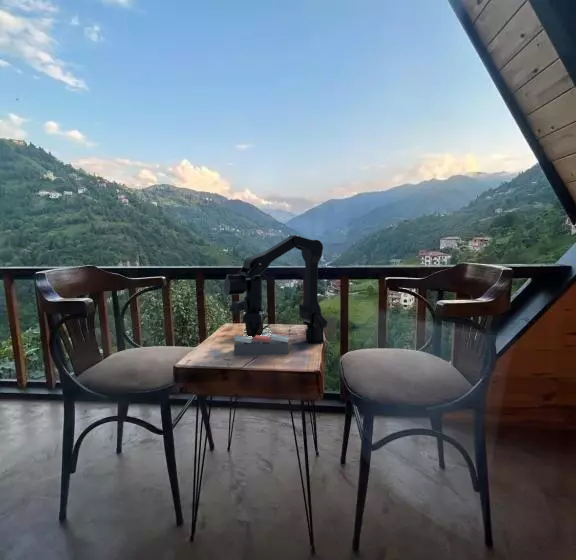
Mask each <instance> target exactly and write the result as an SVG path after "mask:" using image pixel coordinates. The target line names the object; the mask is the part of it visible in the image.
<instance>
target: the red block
mask: <svg viewBox="0 0 576 560" xmlns="http://www.w3.org/2000/svg"><path fill="white" fill-rule="evenodd" d="M270 337H271V336H269V335H262V336H260V335H256V336H253V340H255V341H263V342H270Z"/></svg>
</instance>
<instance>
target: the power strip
mask: <svg viewBox="0 0 576 560" xmlns="http://www.w3.org/2000/svg"><path fill="white" fill-rule="evenodd" d="M269 337H270V342H263V341H255V340H253V338H252V341H251V343H247V342H241V341H235V340H234V341H235V342H234V344H233V346H234V347H233V353H234V357H235V356H236V357H237V356H272V355H273V356H274V355H276V356H277V355H278V356H279V355H289V341H288V342H284V341H278V340H272V339H271V336H269Z"/></svg>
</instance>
